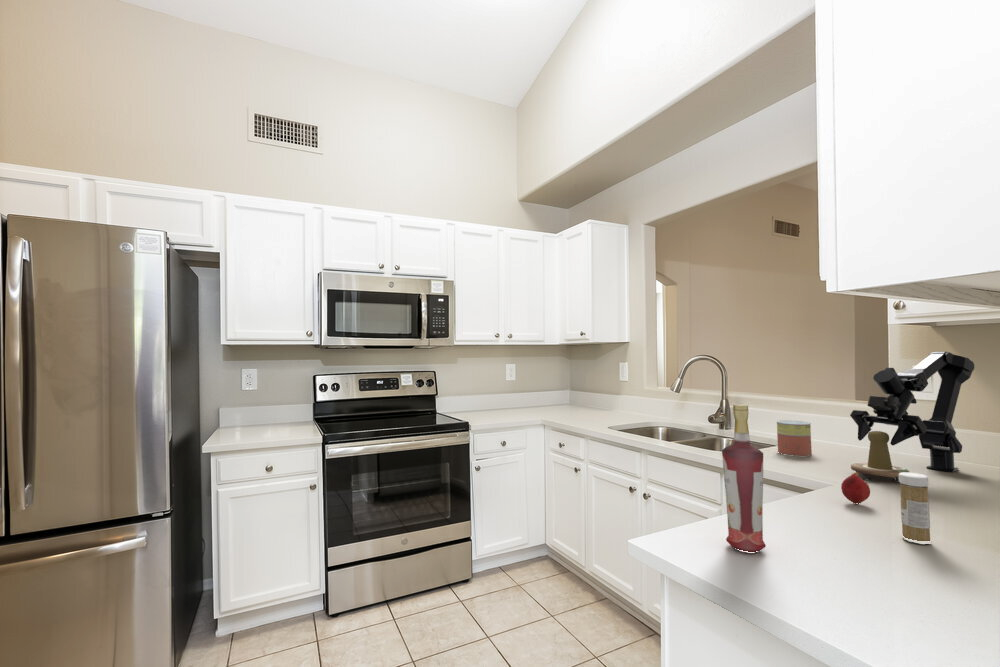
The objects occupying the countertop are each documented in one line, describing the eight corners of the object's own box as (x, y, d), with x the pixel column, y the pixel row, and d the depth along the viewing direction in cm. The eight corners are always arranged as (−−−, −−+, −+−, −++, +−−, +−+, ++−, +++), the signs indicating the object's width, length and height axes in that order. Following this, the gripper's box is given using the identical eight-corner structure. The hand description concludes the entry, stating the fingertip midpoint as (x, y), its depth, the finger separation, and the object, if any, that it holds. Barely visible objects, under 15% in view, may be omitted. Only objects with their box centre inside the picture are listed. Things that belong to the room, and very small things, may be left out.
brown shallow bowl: (862, 470, 153) (861, 458, 154) (917, 479, 141) (917, 466, 142) (843, 476, 146) (842, 464, 146) (900, 486, 134) (899, 473, 134)
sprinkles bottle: (902, 535, 98) (899, 470, 98) (932, 541, 95) (928, 473, 95) (901, 542, 94) (897, 474, 95) (932, 548, 91) (928, 478, 92)
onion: (858, 509, 115) (857, 476, 115) (836, 502, 120) (834, 470, 121) (876, 506, 116) (874, 474, 117) (853, 500, 122) (852, 469, 122)
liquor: (770, 559, 87) (764, 407, 88) (726, 553, 89) (721, 406, 91) (764, 544, 94) (758, 404, 95) (723, 539, 96) (719, 403, 98)
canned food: (817, 457, 175) (816, 424, 175) (785, 456, 176) (784, 424, 177) (803, 451, 186) (802, 420, 186) (772, 450, 188) (771, 420, 188)
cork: (897, 470, 140) (895, 433, 141) (873, 469, 142) (871, 432, 142) (886, 465, 146) (884, 430, 147) (863, 464, 147) (861, 429, 148)
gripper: (852, 385, 155) (830, 420, 151) (918, 388, 138) (895, 428, 133) (869, 408, 157) (848, 443, 153) (936, 414, 140) (915, 454, 136)
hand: (874, 442), depth 144 cm, fingers open, 9 cm apart
